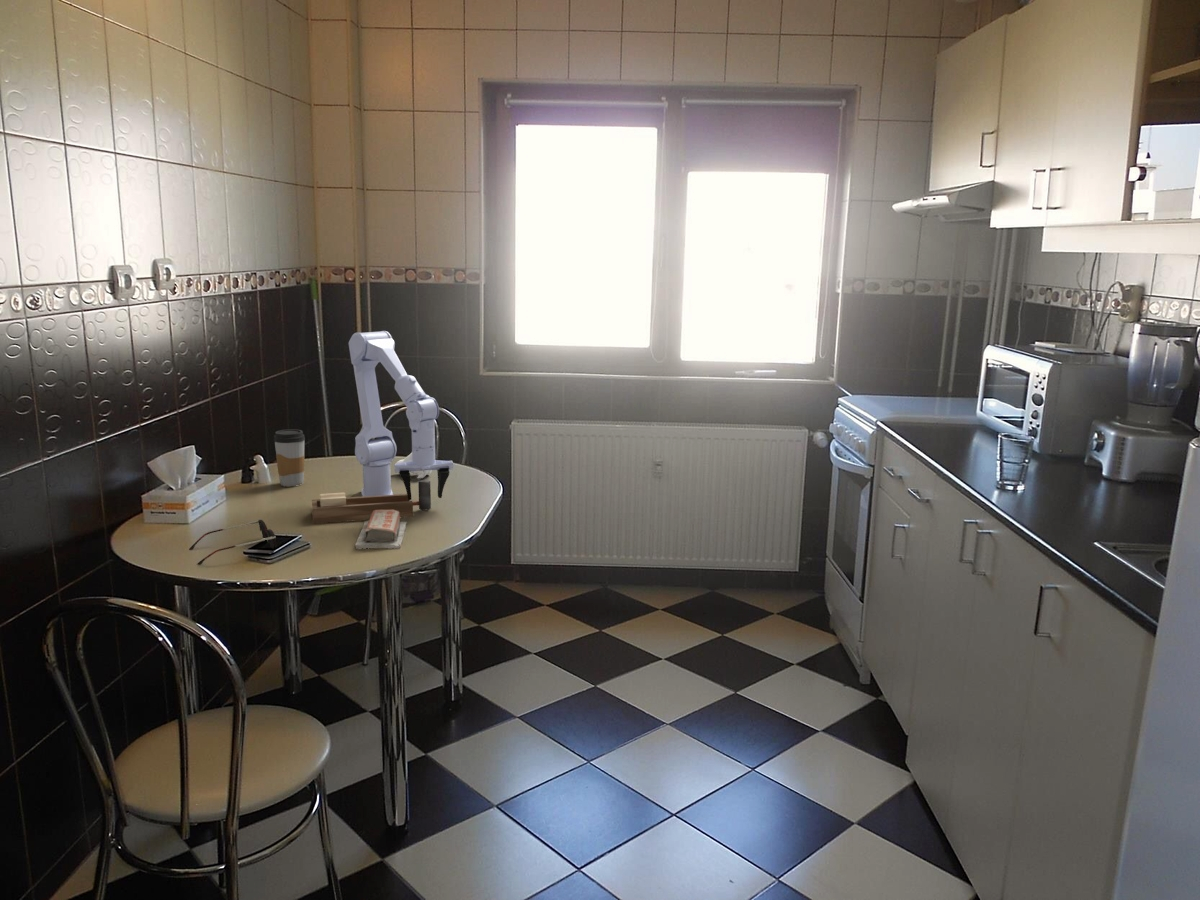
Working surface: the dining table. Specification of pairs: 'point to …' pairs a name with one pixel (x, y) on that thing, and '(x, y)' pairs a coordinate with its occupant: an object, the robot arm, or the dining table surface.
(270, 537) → the sunglasses
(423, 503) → the grey and red rod
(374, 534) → the packaged product
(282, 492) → the dining table surface
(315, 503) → the lane tray
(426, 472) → the white animal figurine
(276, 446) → the coffee cup
